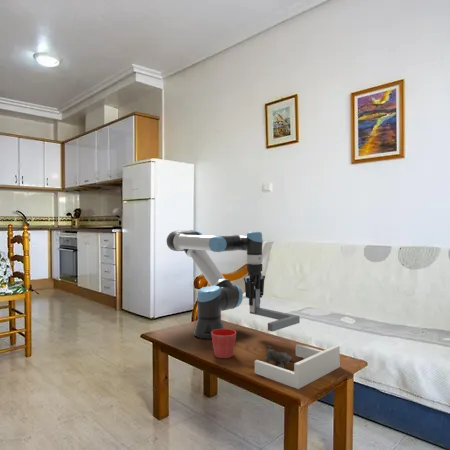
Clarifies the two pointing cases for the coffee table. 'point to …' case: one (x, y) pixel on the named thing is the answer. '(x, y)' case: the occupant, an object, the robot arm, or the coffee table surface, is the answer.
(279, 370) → the low cubby
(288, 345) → the coffee table surface
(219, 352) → the flower pot
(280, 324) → the crook
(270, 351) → the dog figurine
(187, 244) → the robot arm
